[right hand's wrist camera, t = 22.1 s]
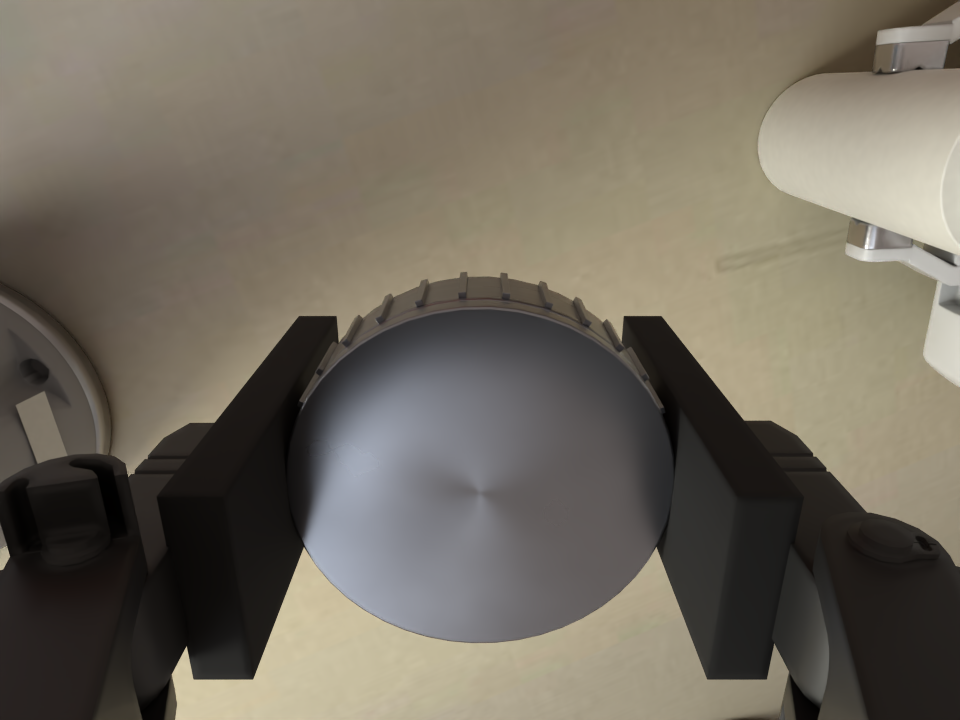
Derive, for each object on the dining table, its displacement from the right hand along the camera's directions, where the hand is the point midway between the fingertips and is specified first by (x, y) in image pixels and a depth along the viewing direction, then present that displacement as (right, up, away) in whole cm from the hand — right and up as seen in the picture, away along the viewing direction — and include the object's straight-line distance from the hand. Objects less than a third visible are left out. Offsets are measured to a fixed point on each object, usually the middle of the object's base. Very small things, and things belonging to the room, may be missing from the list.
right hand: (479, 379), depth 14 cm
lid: (0, -2, -4) cm, 4 cm away
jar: (+16, +11, +18) cm, 26 cm away
